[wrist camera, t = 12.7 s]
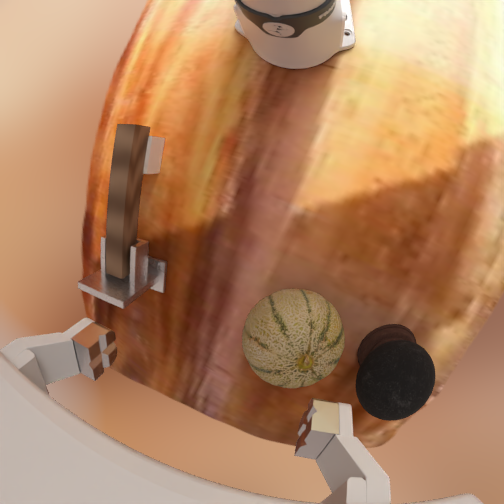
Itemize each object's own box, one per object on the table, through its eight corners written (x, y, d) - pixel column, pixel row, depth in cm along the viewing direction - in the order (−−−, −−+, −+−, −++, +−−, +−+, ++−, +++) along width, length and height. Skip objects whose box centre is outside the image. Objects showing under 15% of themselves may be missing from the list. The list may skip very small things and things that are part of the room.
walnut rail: (132, 126, 38) (117, 124, 35) (150, 127, 38) (135, 124, 34) (119, 265, 46) (106, 273, 42) (135, 270, 46) (121, 279, 42)
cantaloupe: (238, 323, 49) (210, 377, 35) (282, 255, 43) (266, 297, 29) (308, 362, 48) (301, 424, 34) (359, 303, 43) (373, 360, 29)
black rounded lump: (359, 317, 44) (372, 376, 29) (428, 319, 41) (459, 372, 27) (345, 376, 47) (348, 437, 33) (408, 377, 45) (425, 433, 31)
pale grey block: (141, 136, 43) (127, 134, 39) (165, 138, 42) (152, 136, 38) (136, 169, 45) (122, 170, 41) (159, 173, 44) (146, 174, 40)
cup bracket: (116, 225, 49) (71, 241, 38) (169, 240, 47) (128, 261, 36) (115, 273, 52) (75, 296, 41) (165, 291, 50) (129, 321, 39)
